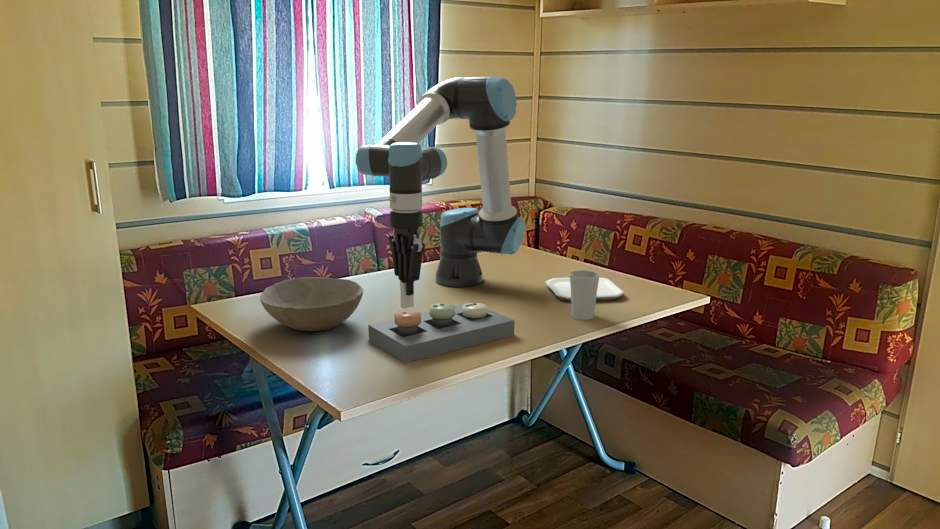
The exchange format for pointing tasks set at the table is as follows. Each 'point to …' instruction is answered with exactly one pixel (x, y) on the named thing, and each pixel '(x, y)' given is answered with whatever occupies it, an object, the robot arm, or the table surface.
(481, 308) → the button three
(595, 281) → the cup
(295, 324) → the bowl
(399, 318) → the button one
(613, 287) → the plate
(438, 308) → the button two
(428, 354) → the console
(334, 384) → the table surface
